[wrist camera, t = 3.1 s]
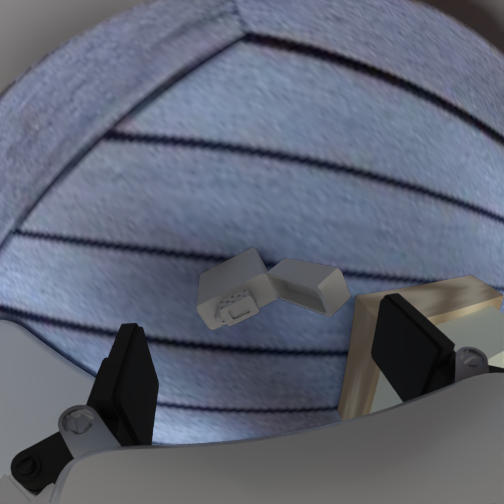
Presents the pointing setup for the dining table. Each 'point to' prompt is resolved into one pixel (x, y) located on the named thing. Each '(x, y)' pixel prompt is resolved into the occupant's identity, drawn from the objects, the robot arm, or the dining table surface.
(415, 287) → the birch base block
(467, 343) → the sage top block
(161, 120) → the dining table surface
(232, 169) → the dining table surface
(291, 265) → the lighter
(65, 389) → the plastic bottle
